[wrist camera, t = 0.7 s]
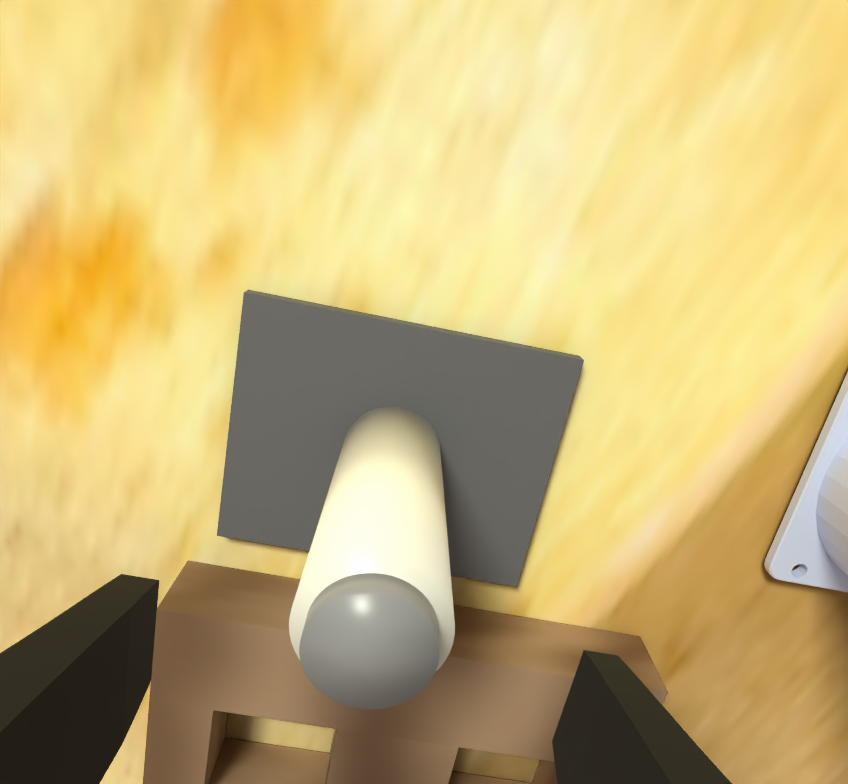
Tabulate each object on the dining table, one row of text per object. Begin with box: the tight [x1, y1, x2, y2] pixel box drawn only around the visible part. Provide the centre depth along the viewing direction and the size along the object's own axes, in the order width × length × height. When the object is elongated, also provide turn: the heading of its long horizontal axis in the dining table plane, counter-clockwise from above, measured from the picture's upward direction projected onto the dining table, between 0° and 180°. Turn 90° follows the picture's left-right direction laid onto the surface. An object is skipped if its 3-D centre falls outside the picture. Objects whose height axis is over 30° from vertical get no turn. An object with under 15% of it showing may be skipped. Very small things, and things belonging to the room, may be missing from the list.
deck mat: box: [217, 290, 584, 587], centre depth 19 cm, size 10×8×1 cm
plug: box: [289, 406, 455, 709], centre depth 14 cm, size 3×3×9 cm
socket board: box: [143, 561, 668, 784], centre depth 21 cm, size 16×11×3 cm
